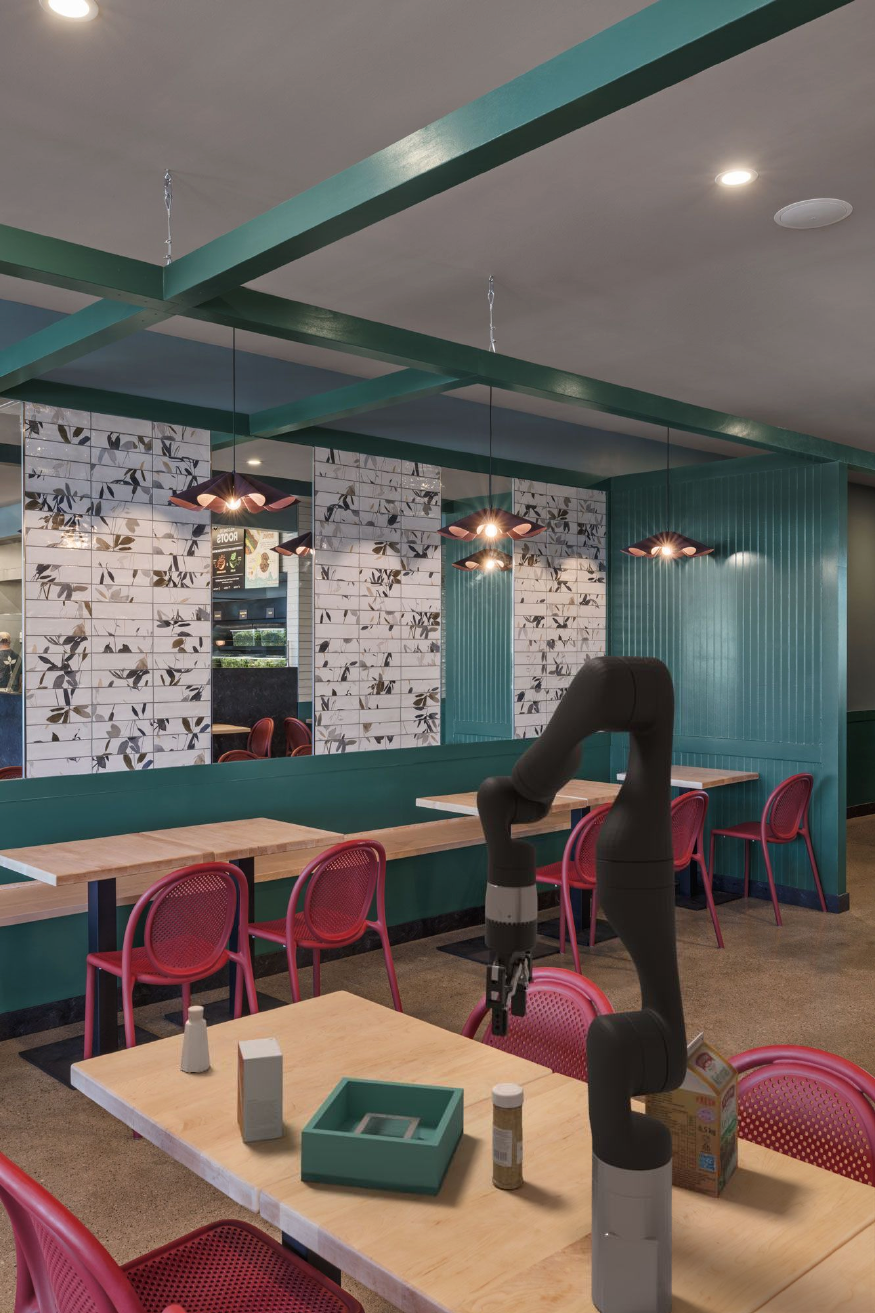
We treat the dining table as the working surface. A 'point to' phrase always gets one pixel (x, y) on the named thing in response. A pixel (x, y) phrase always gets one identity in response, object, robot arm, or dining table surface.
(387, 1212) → the dining table surface
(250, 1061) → the small box
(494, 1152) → the sprinkles bottle
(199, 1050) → the salt shaker
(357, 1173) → the walled box
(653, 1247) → the robot arm
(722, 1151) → the milk carton
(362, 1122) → the socket collar
